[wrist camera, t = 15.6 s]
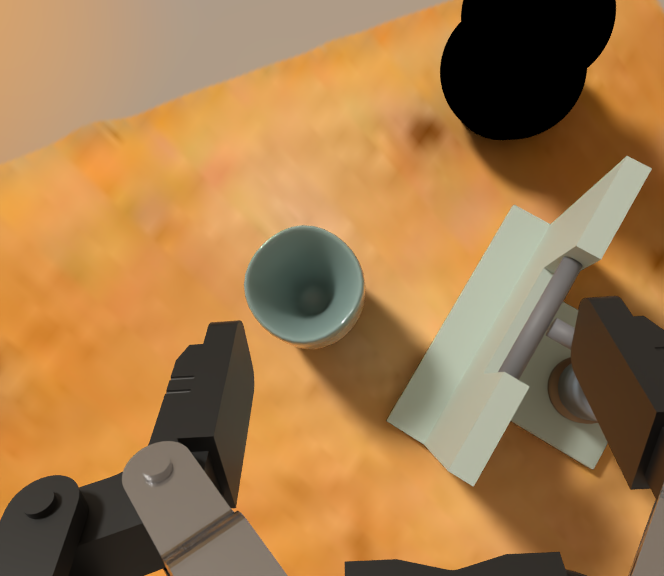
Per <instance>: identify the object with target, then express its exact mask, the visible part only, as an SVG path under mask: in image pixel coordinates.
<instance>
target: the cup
mask: <svg viewBox="0 0 664 576" xmlns="http://www.w3.org/2000/svg"><path fill="white" fill-rule="evenodd" d="M244 289H245V297H246V300H247V303H248V306H249V308H250V310H251V312H252V313H253V315H254V317H255V318H256V319H257V321H258V322H259V323H260V324H261V325H262V326H263V328H265V329H266V330H267V331H268V332H269V333H271V334H272V335H273V336H275V337H276V338H278V339H280V340H282V341H284V342H285V343H287V344H290V345H293V346H296V347H299V348H303V349H319V348H324V347H327V346H329V345H332V344H334V343H335V342H337V341H339V340H340V339H342V338H343V337H344V336H345V335H346V334H347V333H348V332H349V331H350V330H351V329H352V328H353V326H354V325H355V324H356V322H357V320H358V319H359V317H360V315H361V312H362V309H363V306H364V302H365V280H364V274H363V270H362V268H361V265H360V263H359V261H358V259H357V257H356V256H355V254H354V253H353V251H352V250H351V249H350V248H349V247H348V246H347V245H346V243H345V242H343V241H342V240H341V239H340V238H338V237H337V236H336V235H334V234H332V233H330V232H328V231H327V230H325V229H321V228H318V227H315V226H305V225H302V226H295V227H291V228H288V229H285V230H283V231H280V232H279V233H277V234H275V235H274V236H272V237H271V238H270V239H269V240H267V241H266V242H265V243H264V244H263V245H262V246H261V247H260V248H259V249H258V251H257V252H256V253H255V255H254V256H253V258H252V260H251V261H250V263H249V266H248V268H247V271H246V274H245V282H244Z"/></svg>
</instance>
